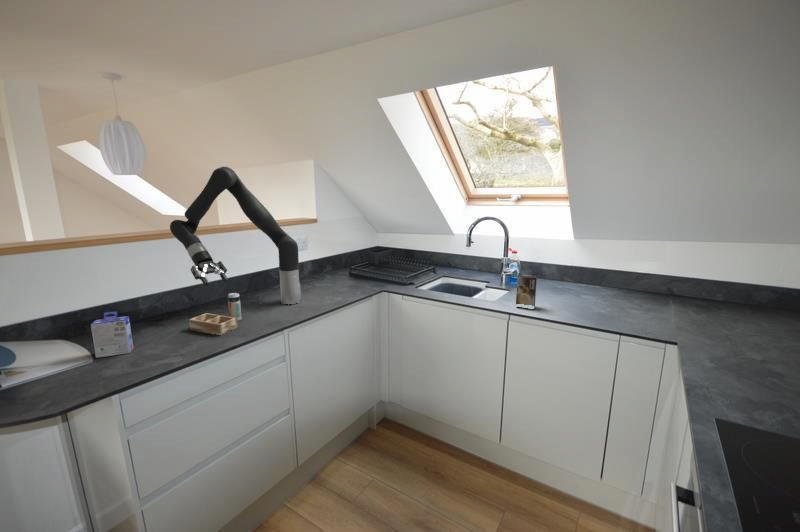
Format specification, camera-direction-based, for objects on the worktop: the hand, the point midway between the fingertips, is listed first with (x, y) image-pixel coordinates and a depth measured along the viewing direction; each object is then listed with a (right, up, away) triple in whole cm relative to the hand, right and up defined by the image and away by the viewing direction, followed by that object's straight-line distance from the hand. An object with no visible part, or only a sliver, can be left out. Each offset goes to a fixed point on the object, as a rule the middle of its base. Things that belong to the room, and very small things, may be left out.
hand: (217, 282), depth 164 cm
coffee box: (+144, -13, +19) cm, 146 cm away
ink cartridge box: (-18, -23, -36) cm, 46 cm away
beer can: (+10, -17, -3) cm, 19 cm away
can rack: (+5, -18, -13) cm, 23 cm away
